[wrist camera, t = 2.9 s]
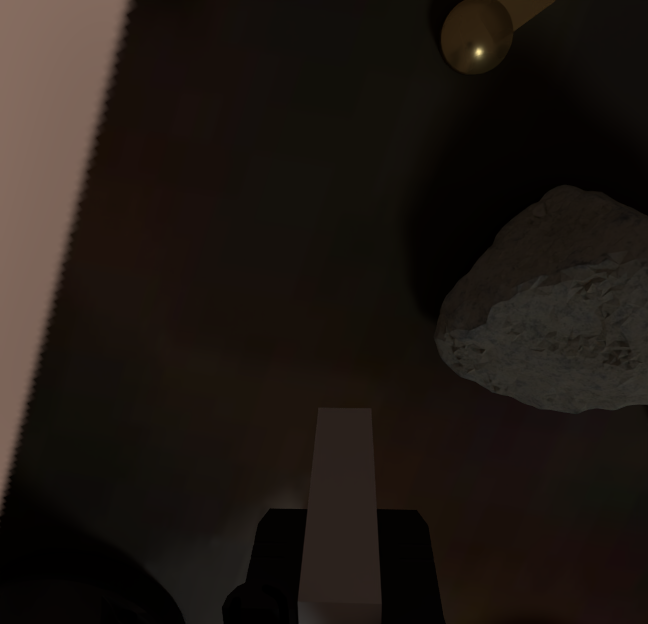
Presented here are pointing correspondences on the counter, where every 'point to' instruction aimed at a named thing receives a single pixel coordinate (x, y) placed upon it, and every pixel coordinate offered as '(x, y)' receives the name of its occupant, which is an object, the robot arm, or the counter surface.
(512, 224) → the decorative stone
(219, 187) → the counter surface
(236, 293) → the counter surface
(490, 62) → the wooden spoon
